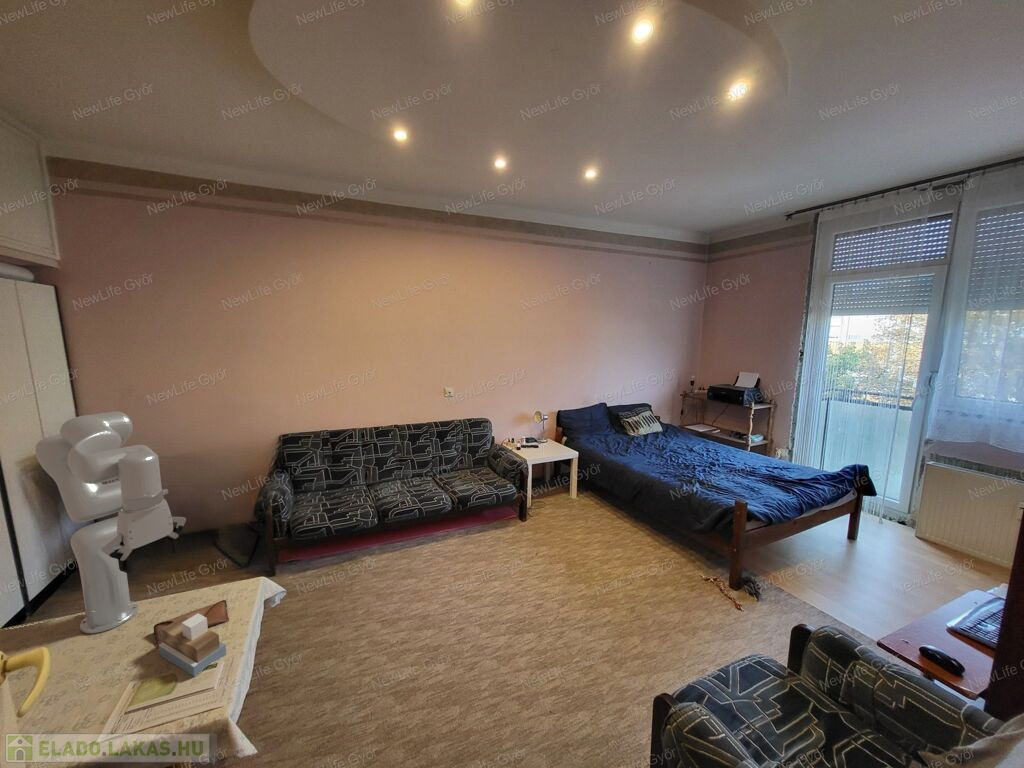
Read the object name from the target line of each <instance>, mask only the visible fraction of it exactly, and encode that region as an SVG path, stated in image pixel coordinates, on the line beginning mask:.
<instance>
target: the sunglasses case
mask: <svg viewBox="0 0 1024 768" xmlns="http://www.w3.org/2000/svg"><path fill="white" fill-rule="evenodd" d="M227 605H228V604H227V600H226V599H223V600H219V601H218V602H216V603H215V602H214V603H212V604H210V605H207V606H204V607H201V608H198V609H195V610H193V611H190V612H186V613H183V614H182V615H179V616H176V617H173V618H170V619H168V620H165V621H161V622H158V623H156V624H154V626H153V635H154V639H155V640H154V642H155V647H156V649H157V650H159V644H161V643H164V642H163V638H162V629H163V628H164V627H166V626H168V625H169V624H171V623H173V622H175V621H176V620H178V619H180V618H181V617H183V616H185V617H187V618H191V617H193V616H194V615H196V614H198V613H199V614H200V615H202V616H204V617H206V618H207V625H208V629H211V628H212V627H216V626H219V625H222V624H225V623H227V622H229V621H230V618H229V614H228V609H227V608H228V606H227Z"/></svg>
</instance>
